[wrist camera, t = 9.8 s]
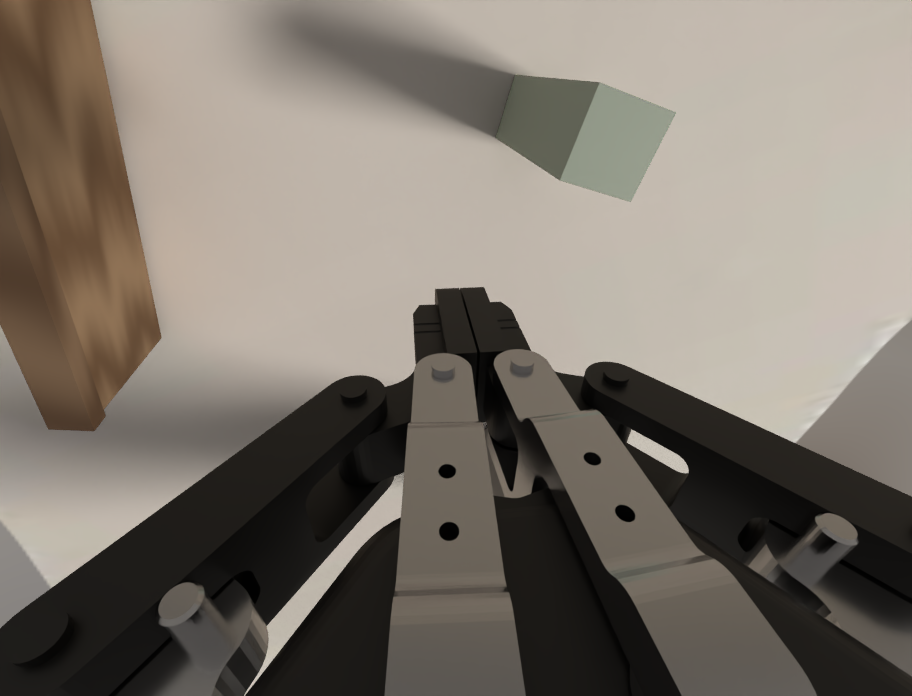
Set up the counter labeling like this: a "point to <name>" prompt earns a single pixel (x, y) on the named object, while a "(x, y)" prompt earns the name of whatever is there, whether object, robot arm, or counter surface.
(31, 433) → the counter surface
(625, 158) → the latch post
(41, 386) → the gate
